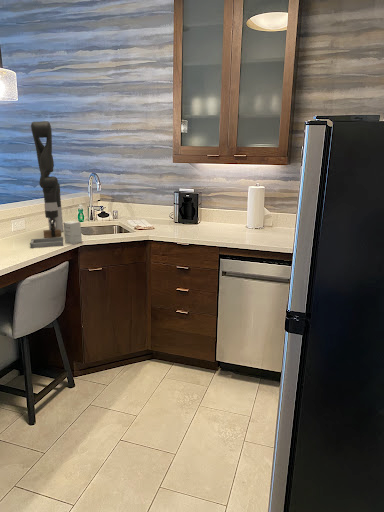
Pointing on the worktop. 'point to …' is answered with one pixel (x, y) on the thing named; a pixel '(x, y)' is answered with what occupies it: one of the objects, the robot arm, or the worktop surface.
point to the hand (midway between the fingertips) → (53, 235)
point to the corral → (46, 242)
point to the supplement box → (72, 232)
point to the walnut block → (48, 233)
